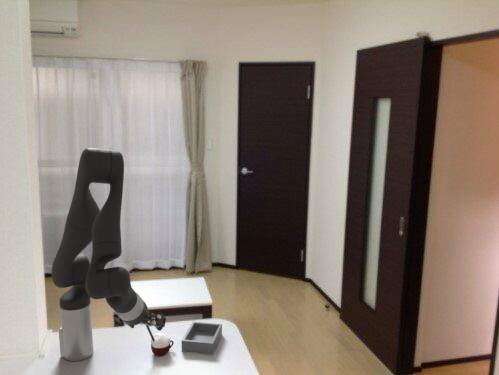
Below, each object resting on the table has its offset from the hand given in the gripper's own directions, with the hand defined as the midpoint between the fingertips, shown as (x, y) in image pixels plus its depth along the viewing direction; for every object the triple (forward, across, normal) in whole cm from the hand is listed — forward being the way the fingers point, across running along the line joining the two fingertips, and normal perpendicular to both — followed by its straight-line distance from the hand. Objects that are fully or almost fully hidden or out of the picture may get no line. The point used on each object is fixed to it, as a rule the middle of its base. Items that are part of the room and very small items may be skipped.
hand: (146, 326), depth 142 cm
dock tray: (+24, -12, -3) cm, 27 cm away
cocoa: (+18, 0, +3) cm, 18 cm away
